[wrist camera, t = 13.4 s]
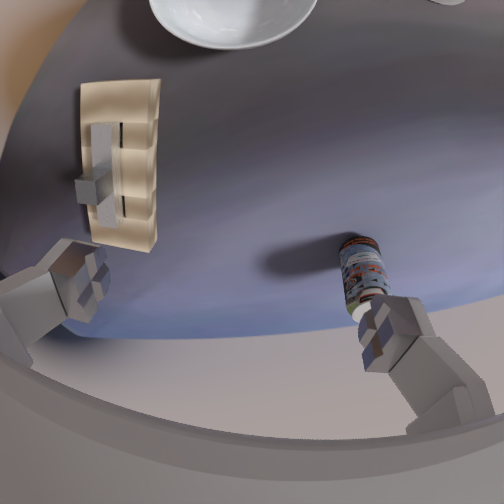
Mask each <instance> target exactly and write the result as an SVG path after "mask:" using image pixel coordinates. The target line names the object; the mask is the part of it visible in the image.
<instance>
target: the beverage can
mask: <svg viewBox="0 0 504 504" xmlns="http://www.w3.org/2000/svg"><path fill="white" fill-rule="evenodd" d="M339 258H340V264H341V271H342V278H343V285H344V292H345V300H346V308H347V311H348V312H349V314H350V315H351V316H352V318H353V319H354V320H355V321H356V322H358V323H360V320H361V318H362V316H363V314H364V313H365V312H367V311H368V310H370V309H371V305H370V302H371V300H372V298H373V296H375V295H376V294H377V293H379V294H386V295H392V294H391V290H390V286H389V282H388V278H387V274H386V271H385V267H384V264H383V260H382V257H381V253H380V250H379V247H378V244H377V243H376V242H375V241H374V240H373V239H371V238H369V237H364V236H360V237H355V238H352V239H350V240H348V241H346V242H345V243H344V244H343V245H342V247H341V248H340V251H339Z"/></svg>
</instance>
